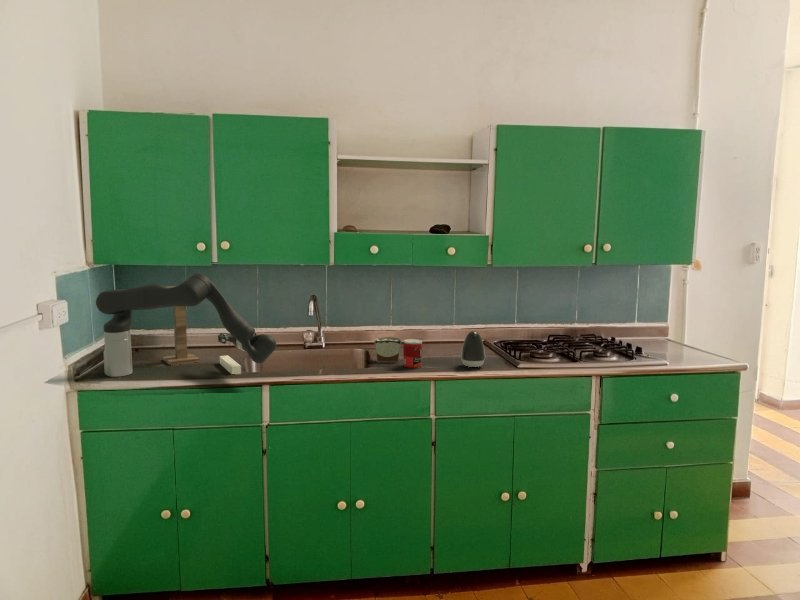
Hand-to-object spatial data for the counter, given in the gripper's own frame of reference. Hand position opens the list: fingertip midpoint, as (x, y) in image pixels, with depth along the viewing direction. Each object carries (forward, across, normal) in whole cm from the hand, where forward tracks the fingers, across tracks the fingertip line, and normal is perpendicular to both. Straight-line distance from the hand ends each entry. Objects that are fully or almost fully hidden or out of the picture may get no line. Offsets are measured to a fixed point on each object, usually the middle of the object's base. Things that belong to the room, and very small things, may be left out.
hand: (231, 334), depth 233 cm
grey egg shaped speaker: (-53, -85, +14) cm, 101 cm away
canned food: (-38, -64, +14) cm, 76 cm away
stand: (+24, +14, +14) cm, 31 cm away
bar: (0, +1, +14) cm, 14 cm away
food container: (-24, -61, +14) cm, 67 cm away
